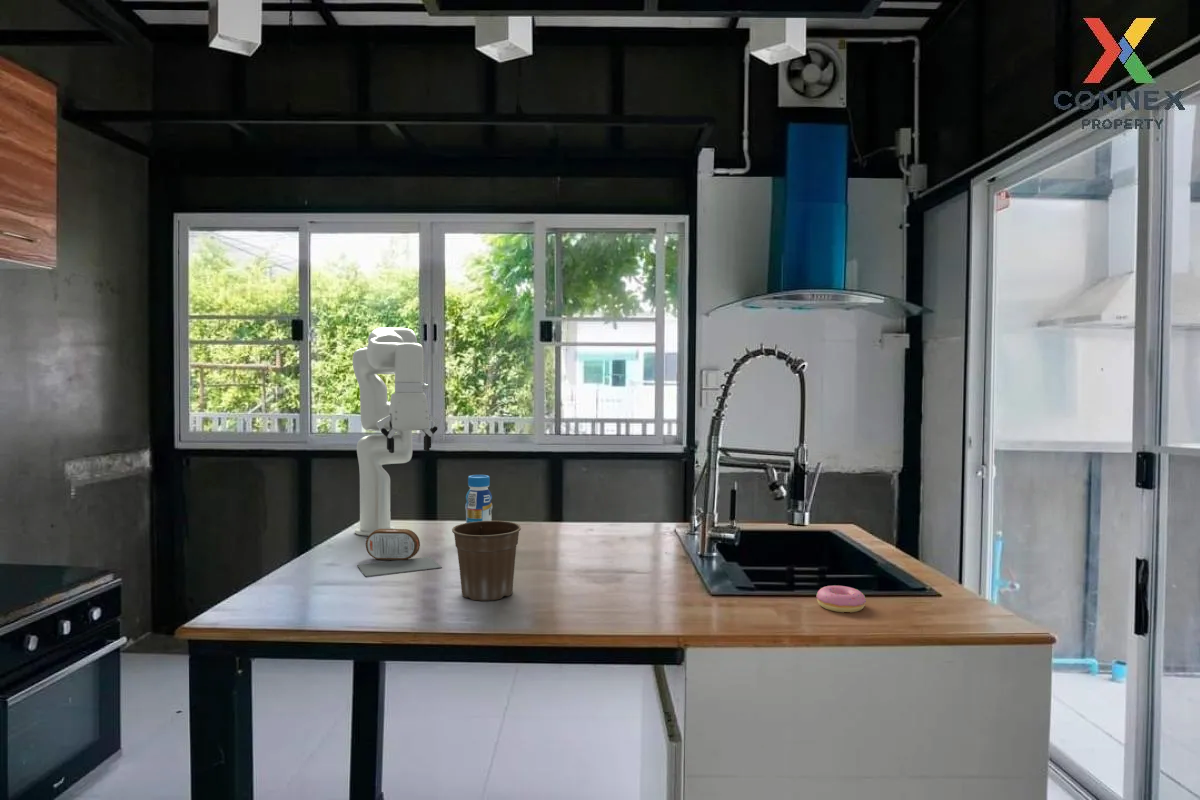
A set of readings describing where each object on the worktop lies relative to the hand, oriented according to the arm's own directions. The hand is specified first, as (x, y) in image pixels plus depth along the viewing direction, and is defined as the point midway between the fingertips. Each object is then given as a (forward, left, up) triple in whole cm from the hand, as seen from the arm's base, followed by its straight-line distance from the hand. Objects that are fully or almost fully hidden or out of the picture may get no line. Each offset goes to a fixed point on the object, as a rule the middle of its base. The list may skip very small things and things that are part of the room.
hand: (409, 451), depth 205 cm
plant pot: (+34, +10, -31) cm, 47 cm away
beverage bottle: (-21, +27, -31) cm, 46 cm away
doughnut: (+79, +80, -32) cm, 117 cm away
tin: (-7, -3, -31) cm, 32 cm away
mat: (+1, -3, -31) cm, 31 cm away
